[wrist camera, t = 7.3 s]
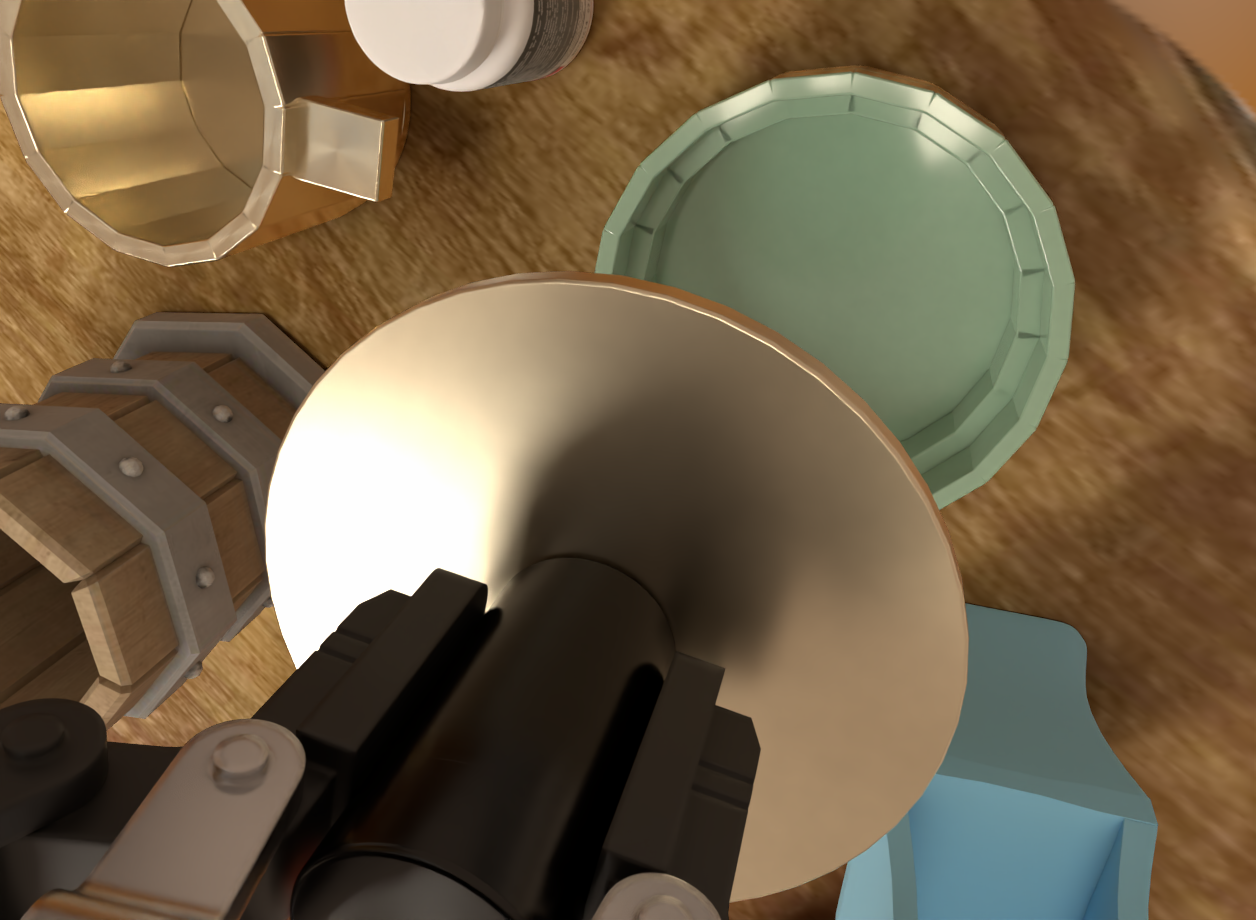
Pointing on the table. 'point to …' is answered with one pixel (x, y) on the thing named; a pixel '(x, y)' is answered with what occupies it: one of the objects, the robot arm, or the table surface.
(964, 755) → the vase
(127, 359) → the tankard
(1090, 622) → the table surface
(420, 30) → the pill bottle
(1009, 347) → the bowl
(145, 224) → the pot
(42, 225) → the table surface
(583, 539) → the pot lid
